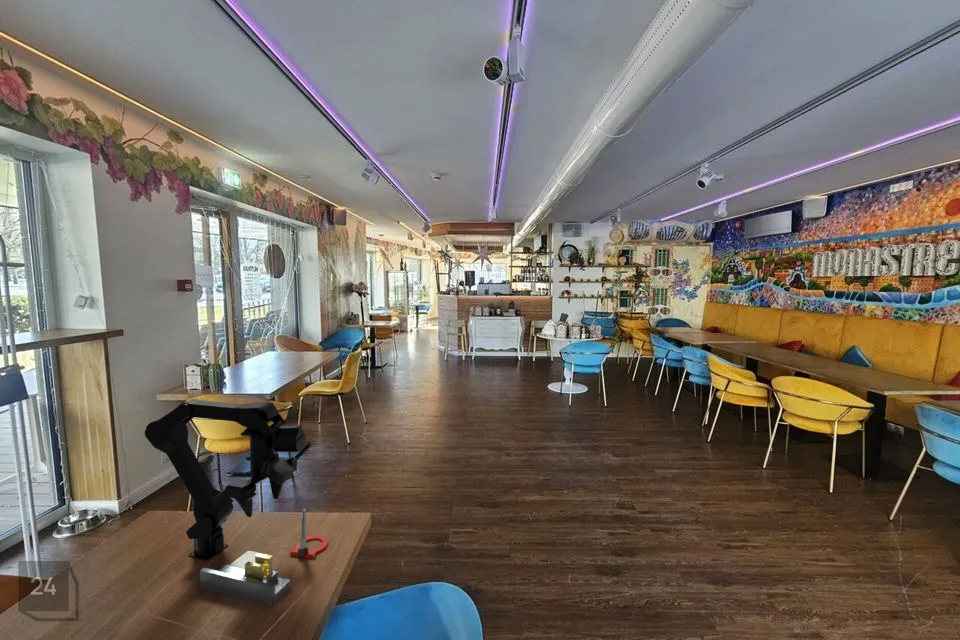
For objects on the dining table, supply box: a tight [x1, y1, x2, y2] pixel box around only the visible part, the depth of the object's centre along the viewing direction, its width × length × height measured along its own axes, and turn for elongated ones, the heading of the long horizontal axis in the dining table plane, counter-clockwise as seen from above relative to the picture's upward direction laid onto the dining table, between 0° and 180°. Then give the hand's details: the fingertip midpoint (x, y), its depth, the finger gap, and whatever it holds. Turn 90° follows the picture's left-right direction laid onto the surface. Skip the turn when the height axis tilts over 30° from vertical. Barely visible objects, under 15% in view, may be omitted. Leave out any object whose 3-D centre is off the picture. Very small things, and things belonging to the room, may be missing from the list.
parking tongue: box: [229, 550, 274, 569], centre depth 104 cm, size 8×6×1 cm
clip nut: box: [245, 552, 273, 581], centre depth 94 cm, size 4×4×5 cm
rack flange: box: [199, 563, 292, 607], centre depth 95 cm, size 20×6×4 cm, turn 76°
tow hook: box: [289, 508, 329, 560], centre depth 110 cm, size 8×13×9 cm
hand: (263, 507), depth 107 cm, fingers open, 9 cm apart
